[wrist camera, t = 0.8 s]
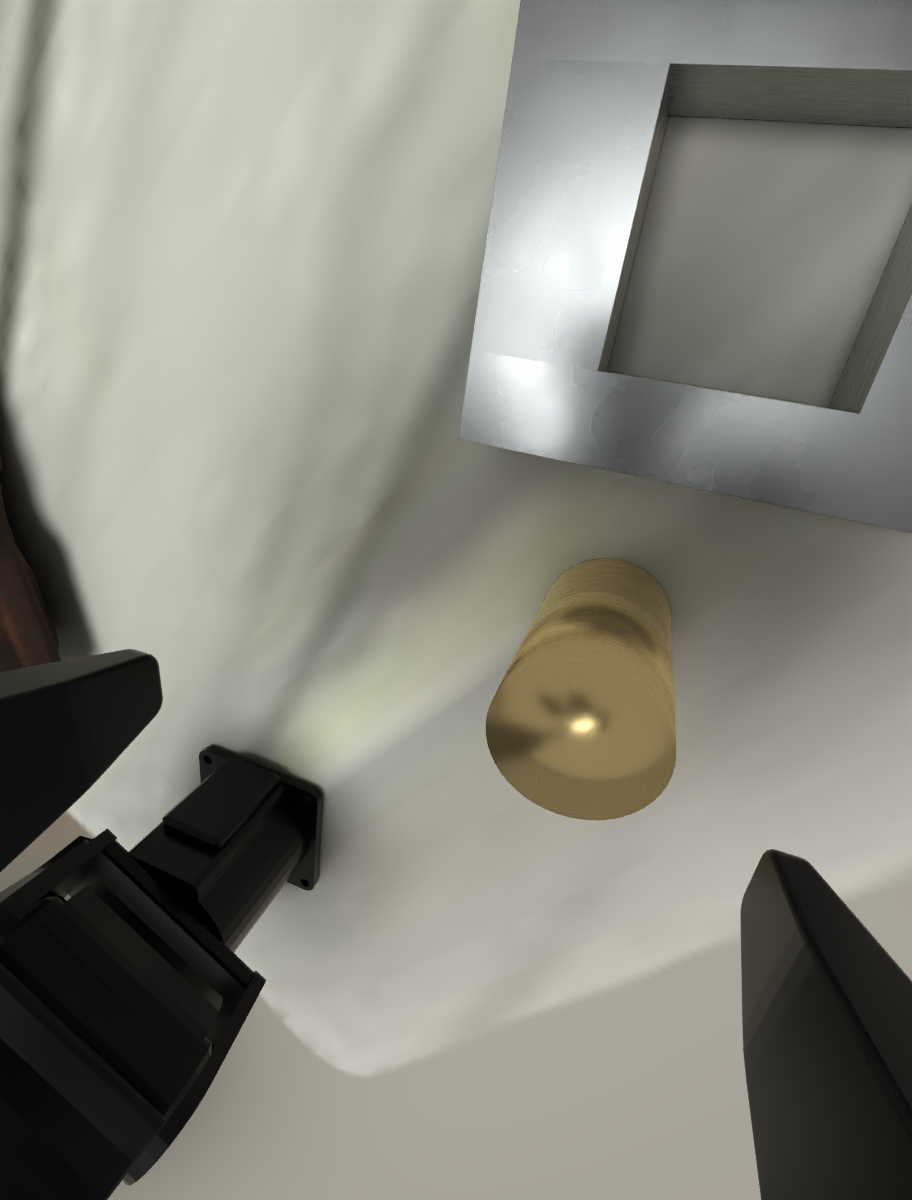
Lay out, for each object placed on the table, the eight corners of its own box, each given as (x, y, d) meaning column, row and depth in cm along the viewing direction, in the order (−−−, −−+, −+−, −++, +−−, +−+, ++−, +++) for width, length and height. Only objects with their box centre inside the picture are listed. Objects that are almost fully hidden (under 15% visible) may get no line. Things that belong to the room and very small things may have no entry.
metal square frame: (929, 519, 14) (997, 557, 11) (484, 430, 17) (448, 442, 14) (1405, -383, 8) (1804, -789, 5) (599, -283, 11) (577, -513, 8)
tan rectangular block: (649, 686, 18) (644, 845, 12) (533, 652, 19) (473, 783, 13) (688, 577, 17) (703, 696, 11) (558, 545, 18) (503, 637, 11)
